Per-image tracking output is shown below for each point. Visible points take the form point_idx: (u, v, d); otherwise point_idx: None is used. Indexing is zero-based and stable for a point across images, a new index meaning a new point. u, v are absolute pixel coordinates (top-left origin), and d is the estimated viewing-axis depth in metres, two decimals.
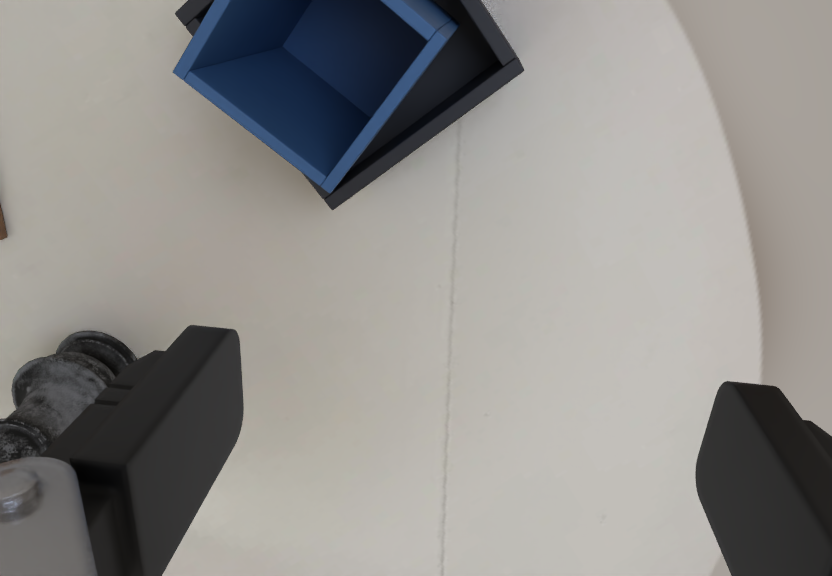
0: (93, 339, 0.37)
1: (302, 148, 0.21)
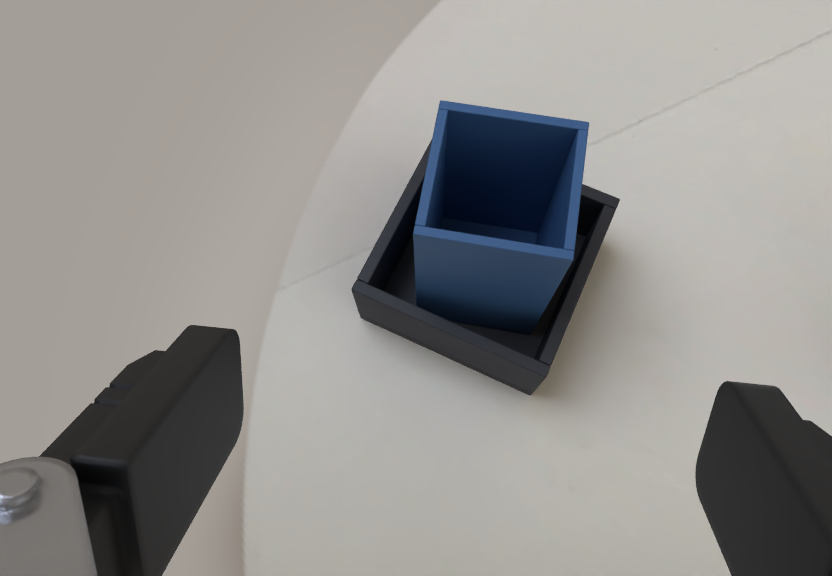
0: None
1: (570, 165, 0.26)
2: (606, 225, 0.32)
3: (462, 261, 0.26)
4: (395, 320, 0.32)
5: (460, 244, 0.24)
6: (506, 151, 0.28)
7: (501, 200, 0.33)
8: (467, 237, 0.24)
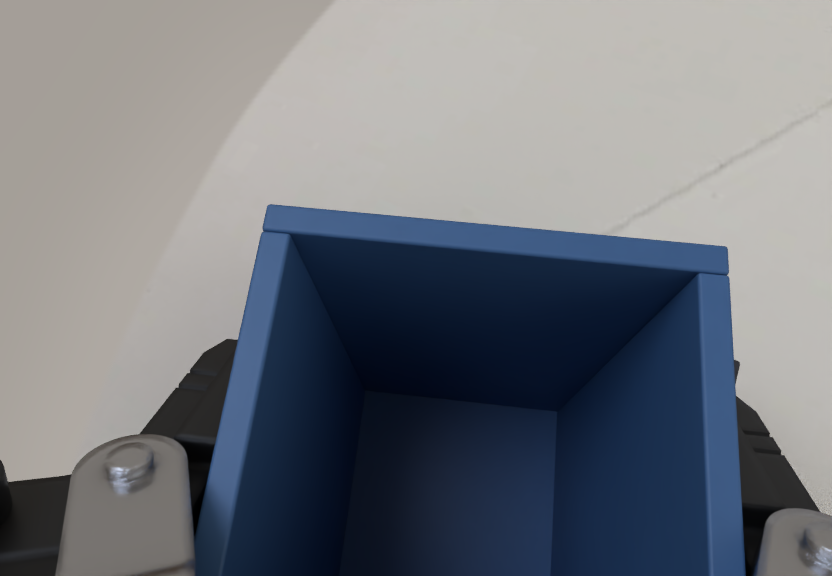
0: None
1: (677, 379, 0.09)
2: None
3: None
4: None
5: None
6: (480, 312, 0.11)
7: (480, 376, 0.15)
8: None
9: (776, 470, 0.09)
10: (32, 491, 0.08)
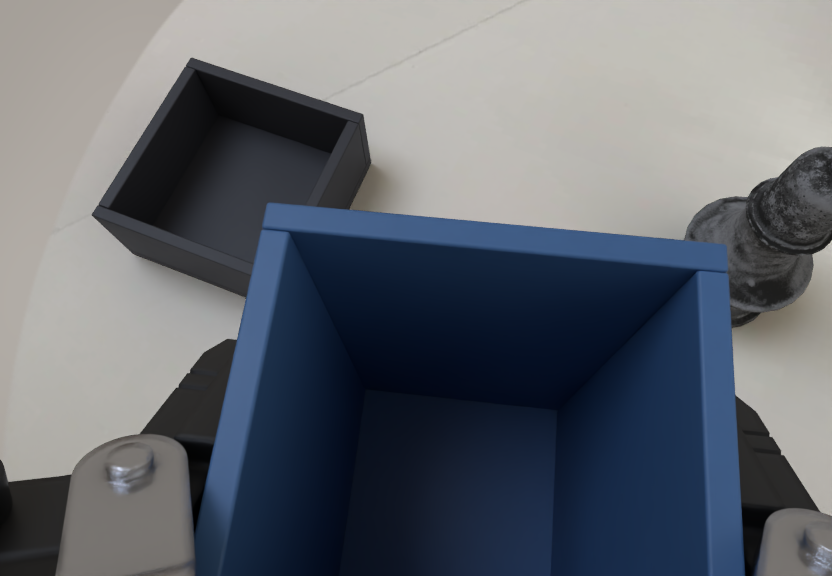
0: None
1: (677, 376, 0.09)
2: (348, 139, 0.32)
3: None
4: (148, 247, 0.32)
5: None
6: (480, 309, 0.11)
7: (480, 375, 0.15)
8: None
9: (776, 470, 0.09)
10: (34, 490, 0.08)
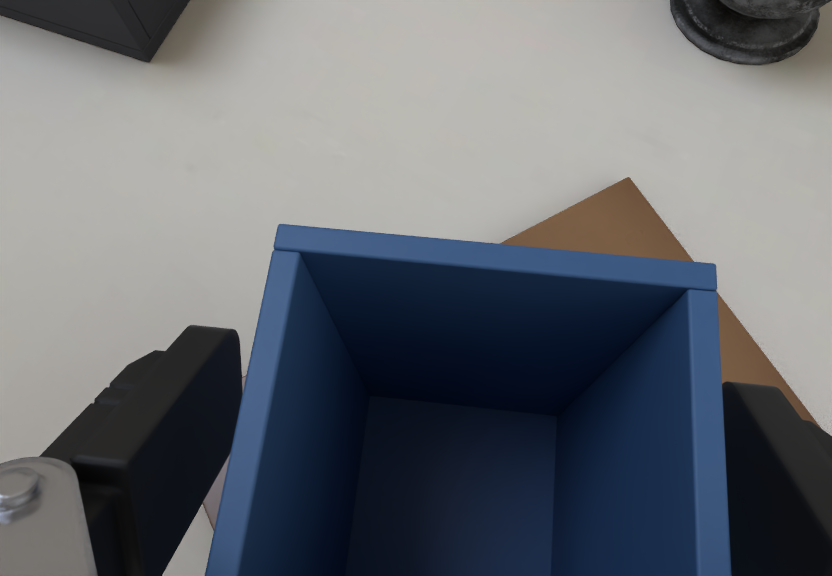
0: (692, 20, 0.23)
1: (669, 389, 0.09)
2: None
3: None
4: None
5: None
6: (481, 322, 0.11)
7: (481, 383, 0.15)
8: None
9: None
10: None
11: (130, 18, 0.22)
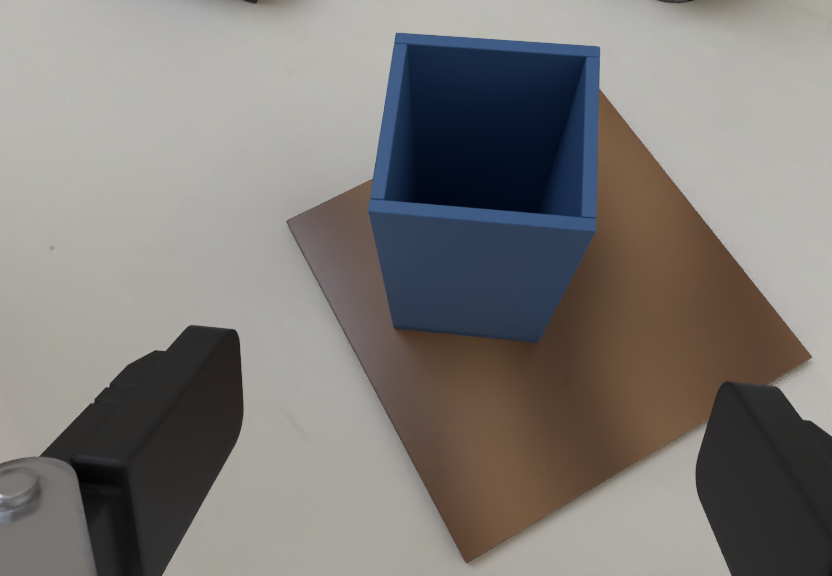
0: None
1: (579, 107, 0.19)
2: None
3: (441, 247, 0.19)
4: None
5: (435, 221, 0.17)
6: (490, 101, 0.21)
7: (489, 174, 0.26)
8: (444, 210, 0.17)
9: None
10: None
11: None
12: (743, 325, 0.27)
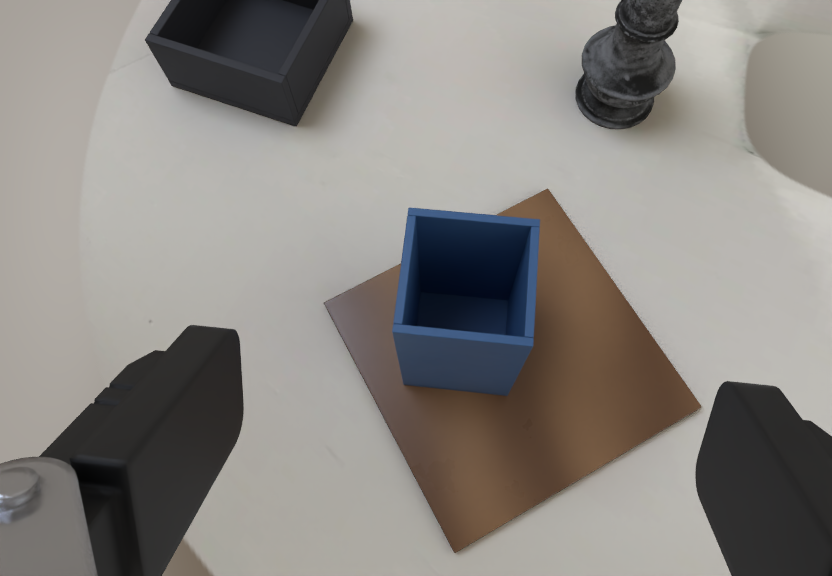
0: (585, 105, 0.44)
1: (527, 257, 0.30)
2: None
3: (437, 348, 0.29)
4: (185, 69, 0.43)
5: (434, 338, 0.28)
6: (471, 243, 0.32)
7: (472, 278, 0.36)
8: (439, 332, 0.28)
9: None
10: None
11: (292, 106, 0.43)
12: (654, 383, 0.37)
